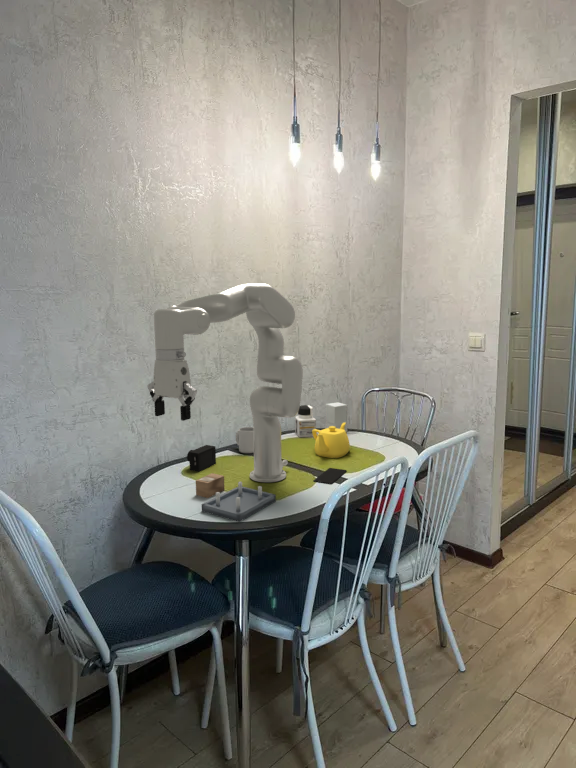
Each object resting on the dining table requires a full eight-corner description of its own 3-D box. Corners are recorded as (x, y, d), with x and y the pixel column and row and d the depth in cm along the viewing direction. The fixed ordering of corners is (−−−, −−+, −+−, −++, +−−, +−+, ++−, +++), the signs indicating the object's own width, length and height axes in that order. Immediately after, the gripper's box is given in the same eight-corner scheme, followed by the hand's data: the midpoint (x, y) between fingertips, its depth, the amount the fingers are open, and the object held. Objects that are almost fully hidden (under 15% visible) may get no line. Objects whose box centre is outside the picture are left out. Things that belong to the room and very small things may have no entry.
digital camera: (204, 462, 211) (203, 444, 210) (216, 464, 208) (215, 445, 207) (186, 469, 202) (186, 451, 201) (199, 472, 199) (198, 453, 198)
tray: (239, 492, 179) (239, 476, 178) (275, 501, 172) (275, 485, 171) (201, 511, 164) (201, 494, 163) (239, 522, 157) (238, 504, 156)
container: (298, 437, 243) (298, 408, 241) (295, 433, 251) (294, 404, 249) (316, 436, 245) (316, 407, 243) (311, 432, 252) (311, 403, 250)
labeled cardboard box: (212, 487, 184) (212, 472, 183) (224, 490, 181) (224, 475, 180) (196, 495, 178) (195, 480, 177) (208, 498, 175) (207, 482, 174)
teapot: (325, 443, 234) (325, 418, 232) (359, 448, 226) (359, 422, 224) (297, 456, 216) (297, 429, 214) (332, 463, 208) (332, 435, 206)
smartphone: (312, 480, 189) (329, 467, 202) (312, 482, 189) (329, 469, 202) (331, 483, 186) (347, 469, 199) (331, 485, 186) (347, 472, 199)
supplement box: (347, 432, 251) (348, 404, 249) (334, 434, 248) (334, 406, 246) (338, 428, 258) (338, 401, 256) (325, 430, 254) (325, 403, 252)
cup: (248, 454, 219) (248, 432, 218) (230, 450, 225) (229, 428, 224) (260, 450, 225) (260, 428, 223) (242, 446, 231) (241, 425, 229)
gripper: (203, 355, 148) (205, 418, 151) (157, 352, 158) (160, 411, 161) (184, 358, 142) (186, 424, 145) (136, 354, 152) (140, 416, 155)
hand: (172, 417), depth 153 cm, fingers open, 9 cm apart
